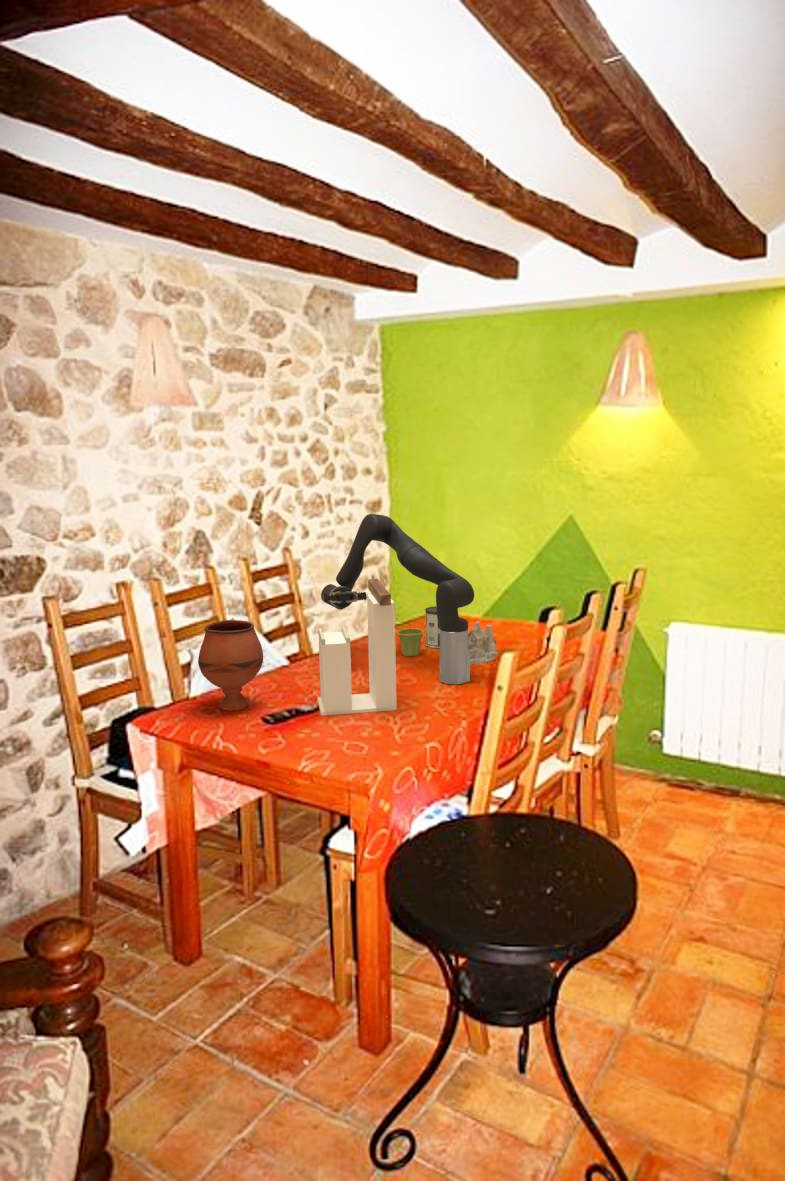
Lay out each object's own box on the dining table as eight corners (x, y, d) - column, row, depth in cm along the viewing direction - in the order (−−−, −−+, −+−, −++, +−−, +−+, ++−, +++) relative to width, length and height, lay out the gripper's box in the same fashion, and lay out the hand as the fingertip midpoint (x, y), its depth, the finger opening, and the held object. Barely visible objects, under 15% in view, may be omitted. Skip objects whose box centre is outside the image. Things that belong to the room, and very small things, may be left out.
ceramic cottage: (506, 658, 285) (503, 617, 283) (470, 668, 276) (467, 625, 274) (477, 652, 298) (474, 612, 296) (442, 661, 289) (439, 620, 287)
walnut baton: (377, 588, 250) (377, 578, 250) (390, 605, 225) (390, 594, 225) (368, 588, 250) (367, 579, 249) (380, 605, 225) (380, 595, 224)
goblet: (214, 721, 228) (208, 636, 223) (192, 703, 244) (187, 623, 239) (276, 708, 238) (272, 626, 233) (251, 691, 254) (247, 614, 249)
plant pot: (413, 659, 286) (413, 636, 285) (392, 655, 292) (392, 632, 290) (428, 653, 294) (428, 630, 292) (407, 650, 299) (407, 627, 298)
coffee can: (454, 642, 310) (454, 606, 307) (450, 649, 300) (450, 612, 297) (427, 641, 312) (427, 605, 309) (423, 648, 302) (423, 611, 299)
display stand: (389, 695, 248) (386, 593, 242) (396, 710, 234) (394, 602, 228) (317, 700, 245) (313, 597, 238) (321, 715, 231) (316, 606, 225)
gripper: (319, 587, 276) (324, 586, 260) (360, 585, 278) (368, 584, 262) (320, 609, 276) (326, 609, 260) (361, 606, 278) (369, 607, 262)
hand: (347, 597), depth 261 cm, fingers open, 8 cm apart
